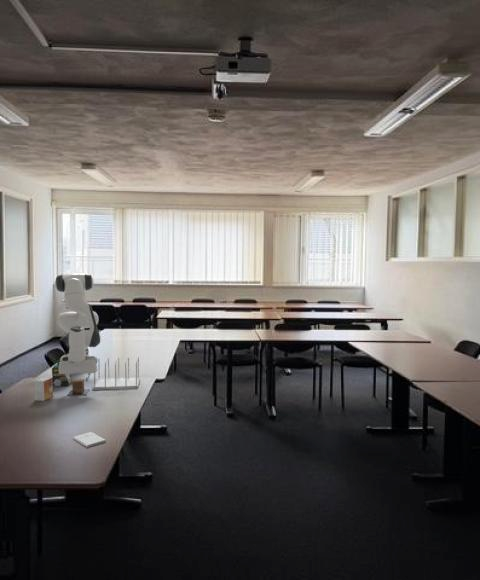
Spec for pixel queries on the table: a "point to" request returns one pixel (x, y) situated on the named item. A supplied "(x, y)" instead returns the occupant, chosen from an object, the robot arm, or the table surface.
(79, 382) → the cardboard cube
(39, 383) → the small box
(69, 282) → the robot arm
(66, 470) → the table surface
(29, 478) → the table surface
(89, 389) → the grey square peg stand
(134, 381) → the file sorter
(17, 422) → the table surface
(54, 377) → the chalk box
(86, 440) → the external hard drive
